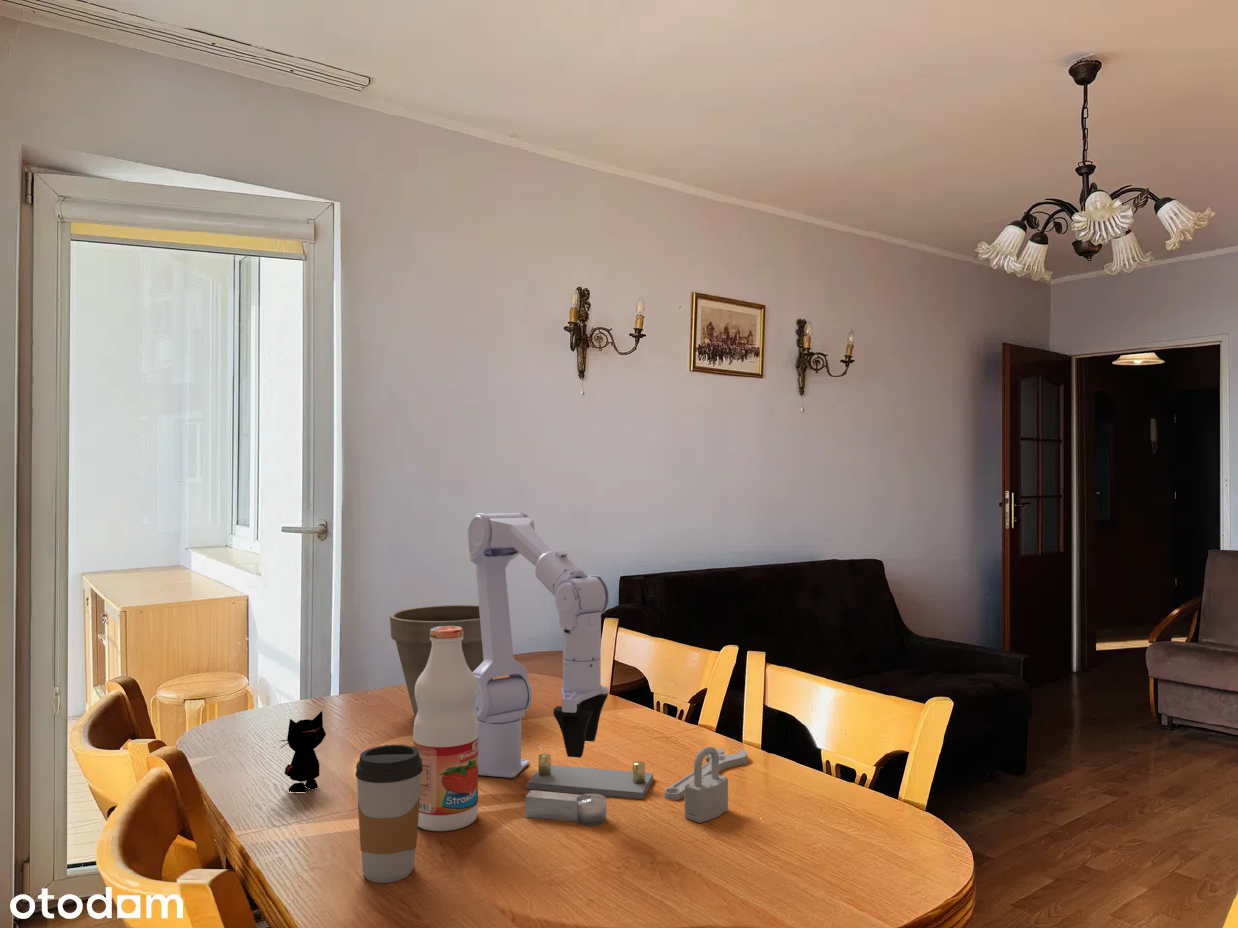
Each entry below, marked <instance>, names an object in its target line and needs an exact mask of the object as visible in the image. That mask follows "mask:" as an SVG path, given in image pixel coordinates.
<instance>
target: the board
mask: <svg viewBox="0 0 1238 928" xmlns="http://www.w3.org/2000/svg"><path fill="white" fill-rule="evenodd" d="M653 780H654V773H653V772H645V783H643V784H635V783H633V770H631V771H630V770H619V769H607V768H594V767H585V766H584V767H581V766H571V765H557V764H551V774H550V775H548V776H541V775H539V769H538V770H537V771H536V772H535V774H533V775H532V777H530V779H529V780H528V781H526V782H527V783H526V789H528V790H535V791H546V792H557V793H568V794H579V795H584V794H600V795H603V796H605V797H614V798H615V797H616V798H625V799H626V798H627V799H628V798H629V799H635V800H636V799H639V800H643V798H644V797H645V795H646V793H647V792H648V790H649V788H650V786H651V785H652V783H653Z"/></svg>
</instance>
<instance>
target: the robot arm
mask: <svg viewBox="0 0 1238 928" xmlns="http://www.w3.org/2000/svg"><path fill="white" fill-rule="evenodd" d="M467 527H468V528H467V538H468V539H467V542H468V551H469V552H468V553H469V560H470V562H471V563H473V564H474V567H475V575H476V578H475V579H476V589H477V600H478V605H479V613H480V625H481V637H482V648H483V660H484V661H483V662H482V663H481V664H480V665H479V666H478V667H477V668H476V669H475V670H474V671H473V672H472V673H473V674H474V676H475V678H476V680H477V686H478V693H477V697H476V701H475V705H474V709H475V712H476V714H477V718H478V729H479V737H478V776H487V777H496V778H497V777H498V778H499V777H500V778H508V779H510V778H511V779H513V778H516V777H517V776H518V775H519V773H520V772H522V771H523V770H524V769H525V767H527V766H528V765H529V764H530V760H529V759H522V718H523V717H525V716H526V711H527V710H529V708H530V706H531V705H532V704H531V703H532V701H533V700H532V699H533V690H532V689H533V688H532V685H531V683H530V681H529V678H528V677H529V676H528V670H527V667H526V666H525V665H523V664H522V663H521V662H519V661H518V660H516V659H515V657H514V651H513V650H514V649H513V640H512V639H513V638H512V627H511V626H512V625H511V618H510V607H509V595H508V593H509V592H508V586H507V585H508V584H507V574H506V570H507V569H506V568H507V567H508V566H509V564H510V562H511V561H513V560H515V559H517V557H519V556H520V555H521V556H522V557H524V559H526V560H527V561H529V563H531V564H533V566H534V567H535V568H534V569H535V570H534V573H535V576H536V577H535V578H536V579H538V581H539V582H540V583H541V584H542V585H543V586H544V587H545V588H546V589H547V590H548V591H549V592H550V593H551V594H552V595H553V597H554V603H555V607H556V610H557V611H558V617H559V622H558V623H559V625H560V628H562V686H561V688H560V690H561V691H560V692H561V695H562V698H561V705H558V706H556V707H554V708H553V716H554V719H555V720H556V722H557V723H558V726H559V728H560V731H561V733H562V739H563V742H564V748H565V752H566V755H567V757H568V758H582V757H583V754H584V749H585V744H586V742H592V743H594V742H595V740H596V737H597V732H598V726H599V722H600V717H601V713H602V710H603V707H604V704H605V702H606V700H607V699H608V695H609V687H608V686H603V685H602V684H601V680H602V679H601V677H602V676H601V673H602V672H601V664H602V663H601V662H602V660H601V658H602V657H601V653H602V650H601V649H602V645H601V644H602V641H601V639H602V636H601V635H602V633H601V632H602V631H601V630H602V628H601V627H602V614H603V613H604V612H605V611H607V608H608V606H609V602H610V593H609V589H608V585H607V583H606V581H604V579H603V577H601V575H590V574H587V573H585V571H583V569H581V567H579V566H578V565H577V564H576V563H575V562H573V560H572V559H570V558H569V556H568V553H567V552H566V551H565V550H559V549H558V550H557V549H556V550H555V549H553V550H551V549H550V547H549V546H548V545H547V544H546V542H545V541H544V540H543V539H542V538H541V536H539V534H538V533H537V531H535V521H534V519H533V518H531V517H530V515H529V514H528V513H526V512H524V511H518V512H504V513H503V512H500V513H498V512H497V513H483V512H478V513H476V514H475V515H473V517H472V519H471V521H470V523H469V525H468V526H467ZM504 676H507V677H504ZM497 677H500V678H497ZM491 678H493V680H490V679H491Z"/></svg>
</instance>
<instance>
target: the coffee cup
mask: <svg viewBox="0 0 1238 928" xmlns="http://www.w3.org/2000/svg"><path fill="white" fill-rule="evenodd" d="M355 769H356V771H355V774H354V775H355V777H356V781H357V784H356V785H357V796H358V797H357V799H358V800H357V810H358V811H357V813H358V823H359V824H358V826H359V827H358V828H359V843H360V852H361V864H362V865H361V866H362V868H361V869H362V872H363V874H364V876H365V878H366V879H367V880H368V881H369V882H373V883H379V884H380V883H381V884H383V883H384V884H386V883H387V884H388V883H394V882H397V881H401V880H403V879H406V878H407V877H409V875H410V874H411V873H412V872H413V869H414V867H415V861H416V859H415V858H416V848H417V842H418V832H419V830H418V829H419V827H418V817H419V803H420V796H419V793H420V779H421V772H422V771H423V766H422V758H421V757H420V756H419V750H418V749H417V748H415V747H413V746H412V745H407V744H387V745H386V744H385V745H379V746H374V747H371V748H368V749H366V750H364V751H362V752H361V753H360V755H359V760H358V761H357V763H356V767H355Z"/></svg>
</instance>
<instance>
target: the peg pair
mask: <svg viewBox="0 0 1238 928" xmlns="http://www.w3.org/2000/svg"><path fill="white" fill-rule="evenodd" d="M551 758H552V756H551V754H550V753H540V754H539V755H538V770H539V775H541V776H548V775H550V774H551V765H552V764H551V762H552V760H551ZM632 772H633V783H635V784H643V783H645V773H646V763H645V762H644V761H641V760H637V761H633V762H632Z"/></svg>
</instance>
